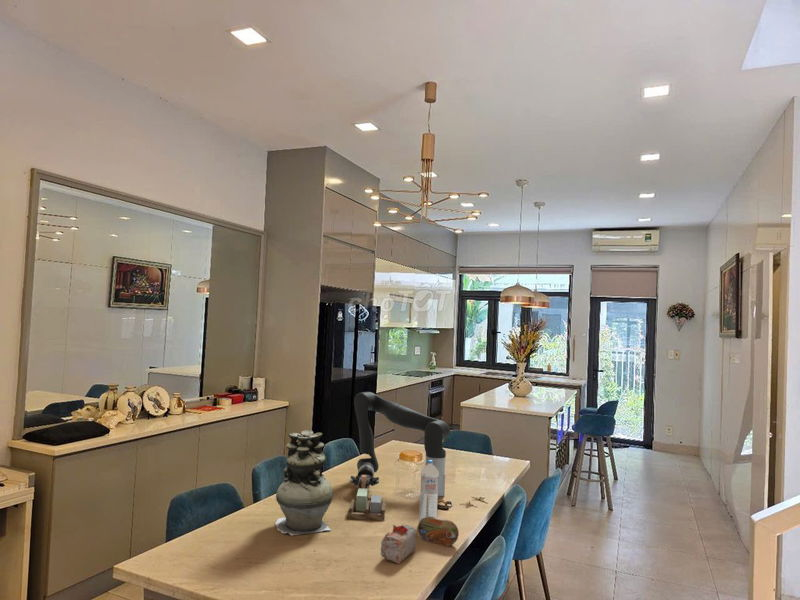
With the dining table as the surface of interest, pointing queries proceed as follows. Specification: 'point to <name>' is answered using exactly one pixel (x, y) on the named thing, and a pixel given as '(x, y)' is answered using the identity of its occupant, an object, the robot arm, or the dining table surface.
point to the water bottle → (428, 491)
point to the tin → (438, 531)
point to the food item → (398, 543)
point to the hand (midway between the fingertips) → (363, 485)
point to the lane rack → (366, 514)
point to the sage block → (362, 495)
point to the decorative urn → (304, 486)
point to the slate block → (375, 504)
